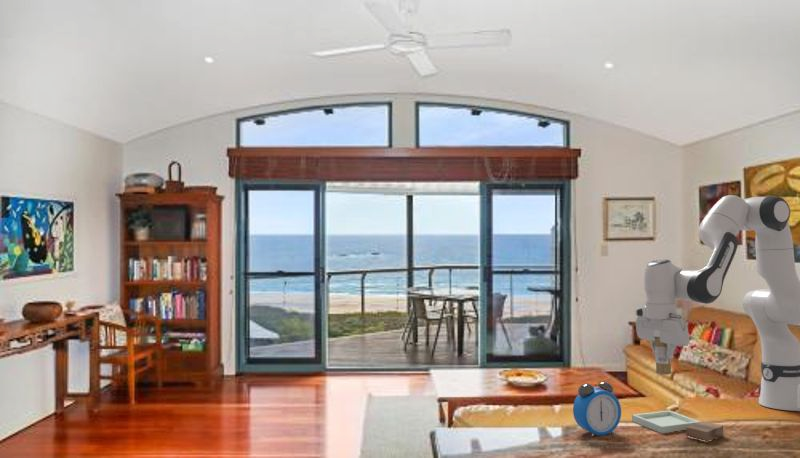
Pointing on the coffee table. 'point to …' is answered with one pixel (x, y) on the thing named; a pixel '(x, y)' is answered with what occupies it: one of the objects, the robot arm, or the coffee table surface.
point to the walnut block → (704, 431)
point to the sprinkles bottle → (661, 356)
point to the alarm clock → (597, 408)
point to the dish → (664, 421)
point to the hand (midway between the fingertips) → (663, 356)
